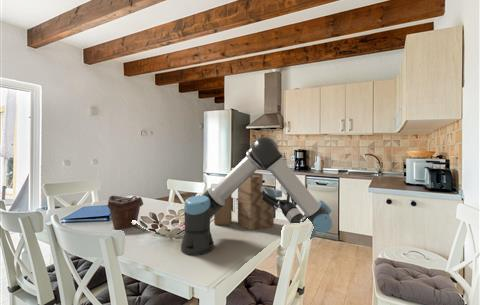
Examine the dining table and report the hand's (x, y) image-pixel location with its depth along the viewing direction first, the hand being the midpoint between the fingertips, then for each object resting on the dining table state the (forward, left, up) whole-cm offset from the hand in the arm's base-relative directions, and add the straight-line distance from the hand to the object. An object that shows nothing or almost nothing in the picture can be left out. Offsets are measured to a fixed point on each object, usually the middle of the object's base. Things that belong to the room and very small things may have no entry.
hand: (271, 187), depth 142 cm
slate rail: (0, +5, -4) cm, 7 cm away
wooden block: (-21, +23, -24) cm, 39 cm away
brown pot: (-75, +46, -24) cm, 91 cm away
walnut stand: (-4, +11, -24) cm, 27 cm away
